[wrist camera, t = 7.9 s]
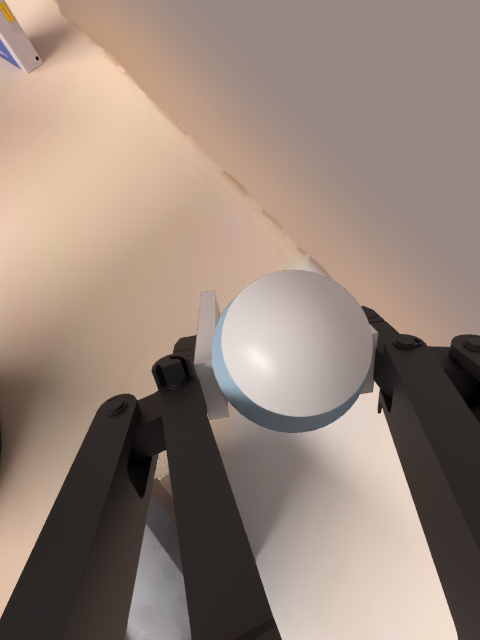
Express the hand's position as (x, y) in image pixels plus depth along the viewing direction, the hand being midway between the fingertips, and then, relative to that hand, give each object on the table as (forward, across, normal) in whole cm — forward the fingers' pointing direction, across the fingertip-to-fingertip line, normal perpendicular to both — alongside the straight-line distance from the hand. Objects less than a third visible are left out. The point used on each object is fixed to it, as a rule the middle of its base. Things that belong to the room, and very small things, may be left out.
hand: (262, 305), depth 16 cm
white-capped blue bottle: (0, 0, -5) cm, 5 cm away
